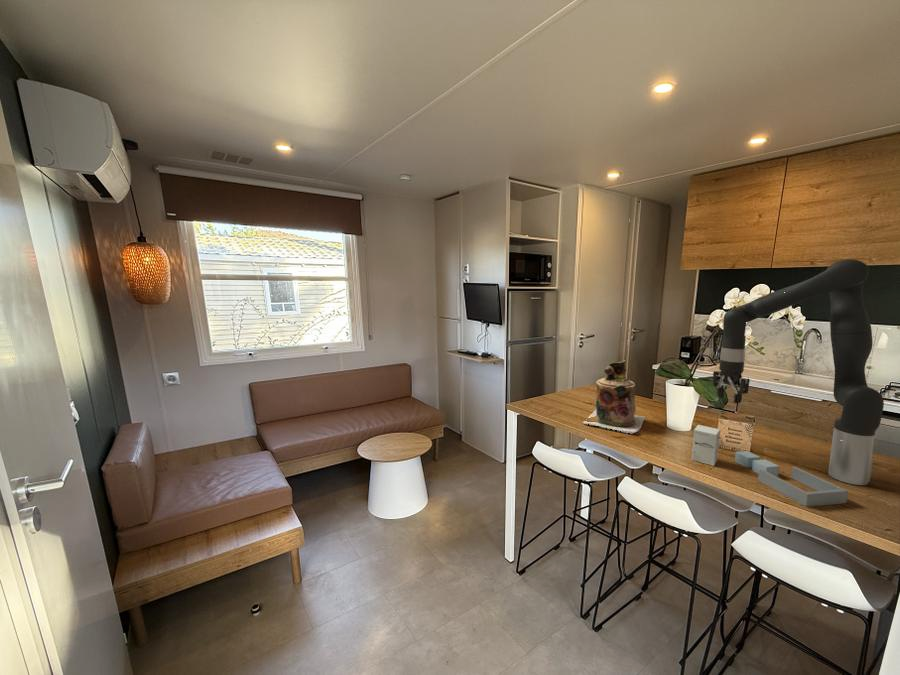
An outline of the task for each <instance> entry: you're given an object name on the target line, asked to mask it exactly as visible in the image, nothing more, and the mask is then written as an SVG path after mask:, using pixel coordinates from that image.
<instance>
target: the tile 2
mask: <svg viewBox="0 0 900 675" xmlns="http://www.w3.org/2000/svg"><path fill="white" fill-rule="evenodd" d="M761 469H763V470H764V471H766V472H768V473H770V474H772V475H774V476H776V477H778V478H779V475H780V474H779V473H780V466H779V465H778V464H775V463H773V462H771V461H769V460H768V459H760V460H753V466H752V467H751V472H755V474H758V475H759V470H761Z"/></svg>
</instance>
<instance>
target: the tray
mask: <svg viewBox="0 0 900 675" xmlns="http://www.w3.org/2000/svg"><path fill="white" fill-rule="evenodd" d="M790 478H791V479H793V480H795V481H797V482H798V483H801V484H803V485H805V486H806V487H808V488H811V489H813V491H805V490H804V489H802V488H800V487H798V486H796V485H794V484H792V483H790V482H788V481H786V480H784V479H782V478H781V477H779V476H778V477H776V476H774V475H772V474H770V473H768V472H766V471H764V470H763V469H761V470H759V474H758V476H757V481H758V482H760V483H762V484H763V485H766V487H770V488H771V489H773V490H775V491H777V492H778V493H780V494H782V495H784V496H785V497H787V498H789V499H791V500H793V501H795V502H796V503H799V504H800V505H801V506H804V507H815V506H816V507H817V506H819V507H820V506H828V505H830V506H831V505H841V504H847V503H848V502H847V501H848V495H849V490H847V489H845V488H843V487H842V486H841V487H840V486H838V485H837V484H834V483H832V482H830V481H827V480H826V479H823V478H821V477H819V476H816V475H814V474H812V473H810V472H808V471H806V470H803V469H802V468H799V467H797V466H792V468H791V476H790Z"/></svg>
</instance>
